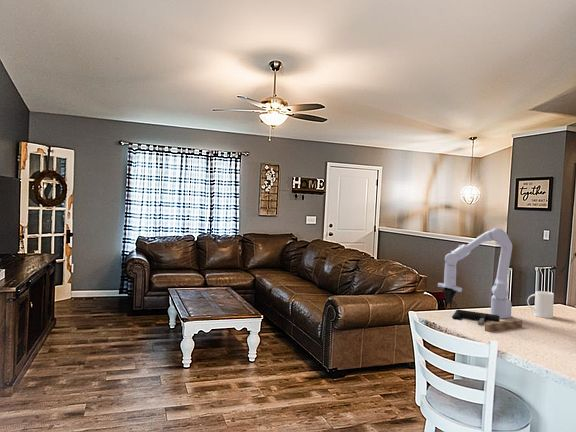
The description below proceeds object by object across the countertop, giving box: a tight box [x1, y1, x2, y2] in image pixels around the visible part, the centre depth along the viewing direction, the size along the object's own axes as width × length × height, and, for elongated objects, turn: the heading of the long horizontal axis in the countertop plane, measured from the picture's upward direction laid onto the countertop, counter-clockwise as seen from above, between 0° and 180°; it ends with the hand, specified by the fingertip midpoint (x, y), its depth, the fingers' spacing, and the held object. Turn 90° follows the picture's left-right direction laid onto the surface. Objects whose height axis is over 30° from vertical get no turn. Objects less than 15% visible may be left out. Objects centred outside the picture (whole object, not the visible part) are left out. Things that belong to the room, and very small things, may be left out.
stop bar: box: [484, 318, 523, 333], centre depth 198 cm, size 22×2×3 cm, turn 116°
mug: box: [526, 290, 555, 319], centre depth 225 cm, size 12×8×12 cm
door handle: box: [451, 309, 501, 326], centre depth 212 cm, size 3×20×16 cm
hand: (448, 303), depth 227 cm, fingers closed
